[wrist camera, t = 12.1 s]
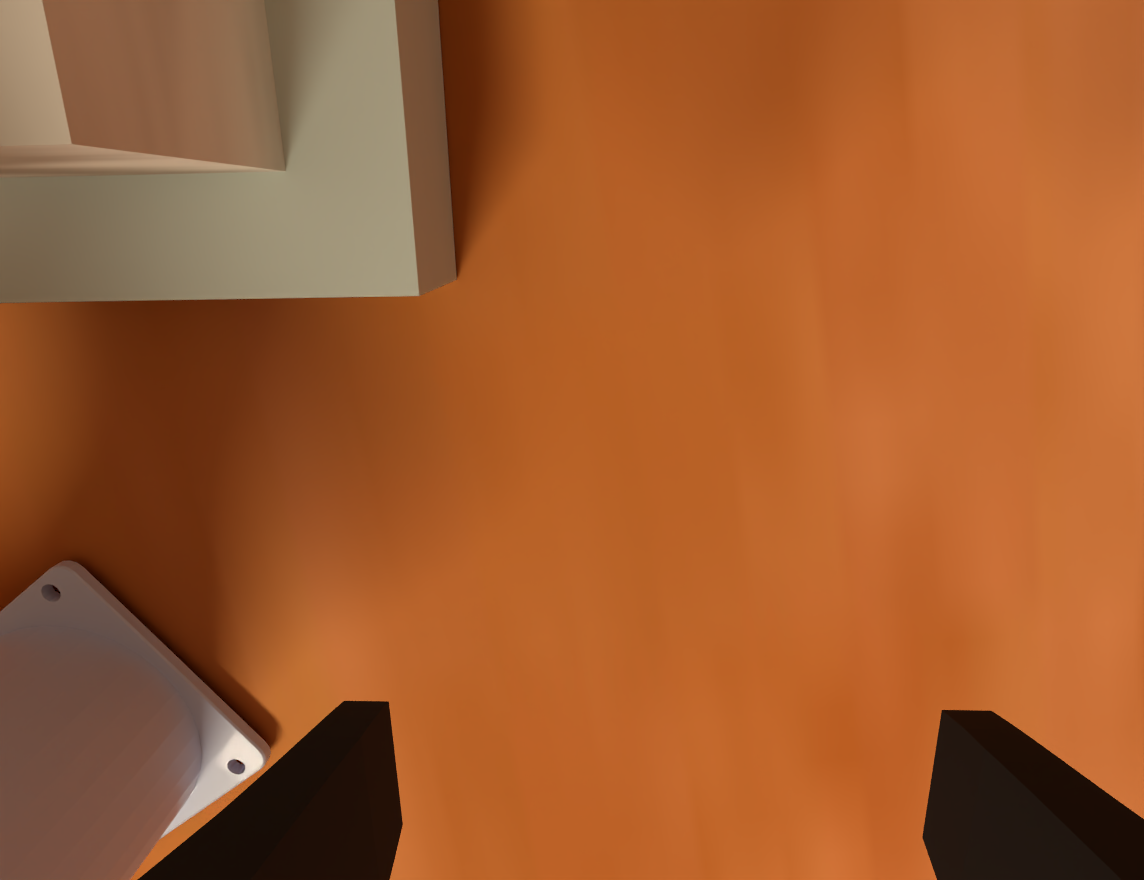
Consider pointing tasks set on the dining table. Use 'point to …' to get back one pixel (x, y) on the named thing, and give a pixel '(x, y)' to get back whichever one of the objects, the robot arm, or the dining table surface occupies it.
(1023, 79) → the dining table surface
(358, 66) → the sage pedestal
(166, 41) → the cream cube
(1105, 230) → the dining table surface
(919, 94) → the dining table surface
